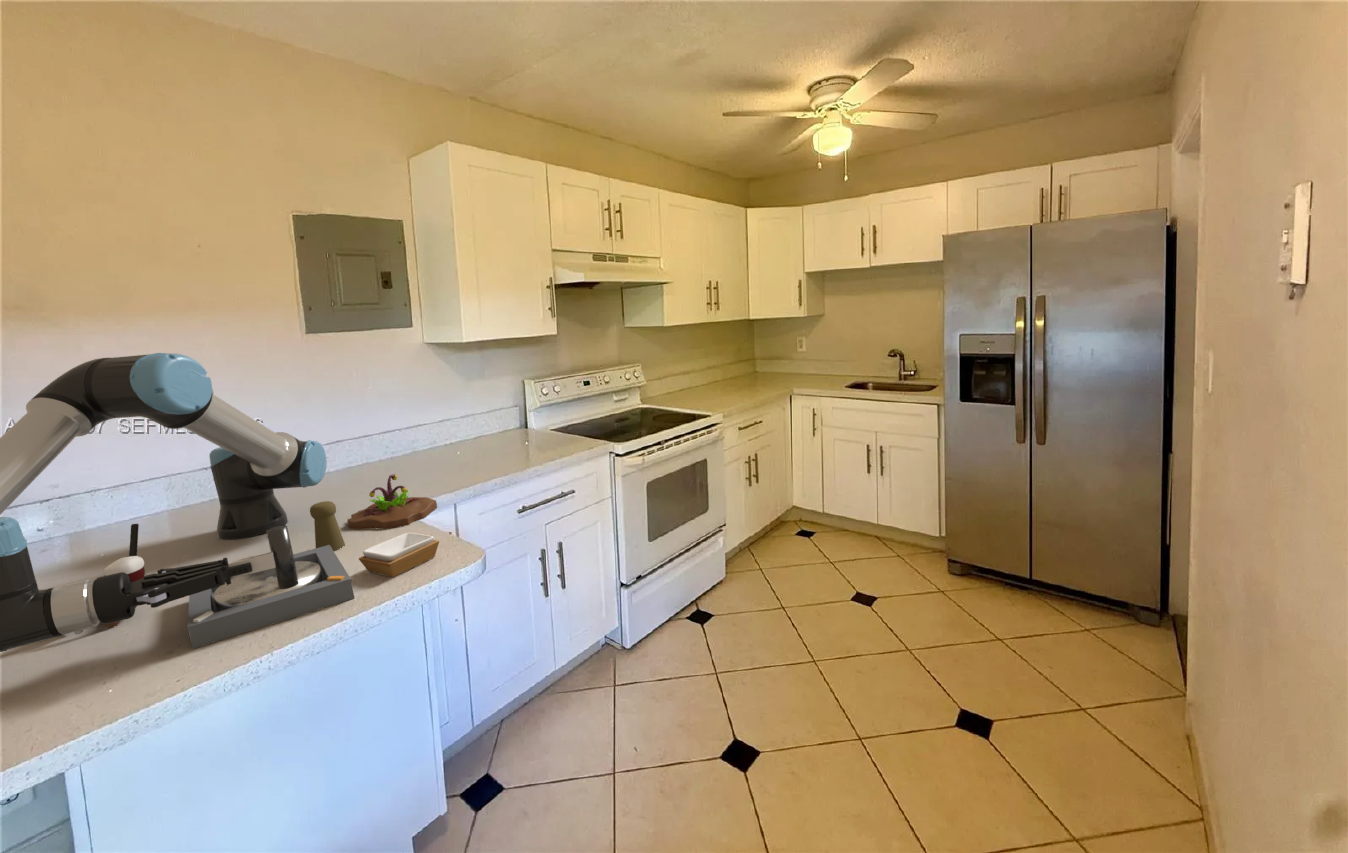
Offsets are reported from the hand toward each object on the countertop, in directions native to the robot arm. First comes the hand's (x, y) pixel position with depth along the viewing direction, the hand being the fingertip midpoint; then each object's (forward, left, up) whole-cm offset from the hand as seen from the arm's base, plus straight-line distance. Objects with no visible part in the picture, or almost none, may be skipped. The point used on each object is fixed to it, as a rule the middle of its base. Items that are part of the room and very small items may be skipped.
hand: (274, 559), depth 108 cm
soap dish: (-5, +22, -10) cm, 25 cm away
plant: (-43, +29, -10) cm, 53 cm away
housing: (-7, -1, -10) cm, 13 cm away
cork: (-29, +12, -10) cm, 33 cm away
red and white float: (-39, -24, -10) cm, 48 cm away
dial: (-8, -1, -8) cm, 11 cm away
